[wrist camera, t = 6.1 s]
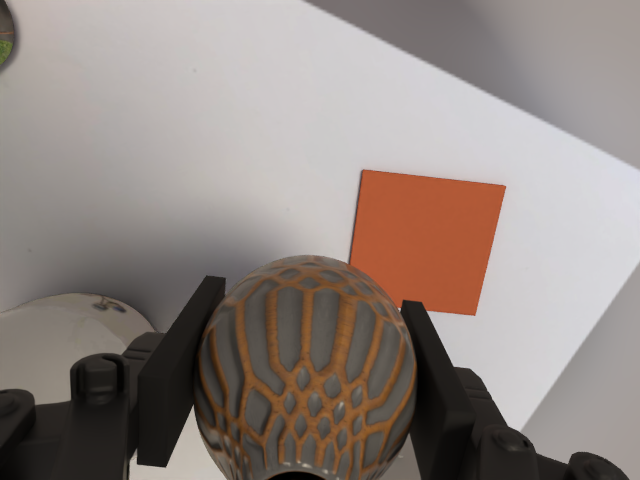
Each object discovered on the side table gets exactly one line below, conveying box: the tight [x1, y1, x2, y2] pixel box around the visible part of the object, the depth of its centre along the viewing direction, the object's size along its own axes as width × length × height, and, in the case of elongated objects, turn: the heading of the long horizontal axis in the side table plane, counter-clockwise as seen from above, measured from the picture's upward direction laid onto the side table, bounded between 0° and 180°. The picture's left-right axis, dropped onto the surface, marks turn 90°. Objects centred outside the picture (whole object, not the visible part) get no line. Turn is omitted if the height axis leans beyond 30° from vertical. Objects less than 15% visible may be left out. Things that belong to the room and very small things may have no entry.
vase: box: [193, 255, 418, 480], centre depth 13 cm, size 7×7×9 cm
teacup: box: [0, 293, 155, 460], centre depth 31 cm, size 15×12×8 cm
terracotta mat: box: [350, 170, 506, 316], centre depth 32 cm, size 10×10×1 cm
